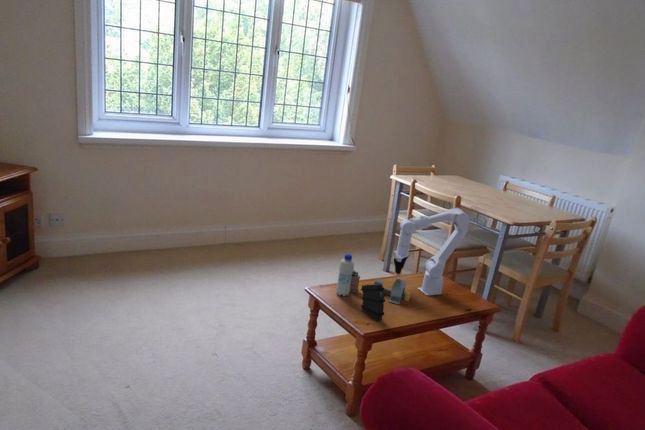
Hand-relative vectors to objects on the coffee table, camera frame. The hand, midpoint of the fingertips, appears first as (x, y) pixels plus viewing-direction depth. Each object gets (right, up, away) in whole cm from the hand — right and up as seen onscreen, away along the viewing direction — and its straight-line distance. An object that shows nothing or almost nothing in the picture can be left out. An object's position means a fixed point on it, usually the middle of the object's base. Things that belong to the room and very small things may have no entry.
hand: (399, 270), depth 236 cm
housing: (-2, -12, -6) cm, 13 cm away
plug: (-5, -11, -5) cm, 13 cm away
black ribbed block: (-17, -16, -25) cm, 34 cm away
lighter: (-25, -9, -5) cm, 26 cm away
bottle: (-28, -10, -11) cm, 32 cm away
